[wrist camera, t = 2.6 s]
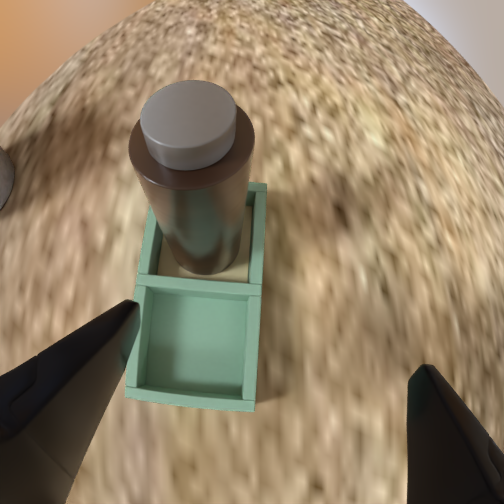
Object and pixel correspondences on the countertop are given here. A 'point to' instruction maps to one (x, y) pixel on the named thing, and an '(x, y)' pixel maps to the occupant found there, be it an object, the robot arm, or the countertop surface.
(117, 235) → the countertop surface
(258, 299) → the caddy
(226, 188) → the pepper mill
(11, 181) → the pillar candle
